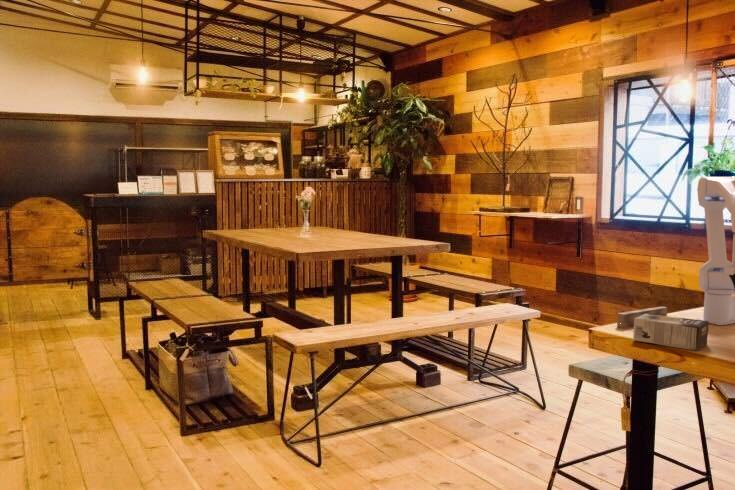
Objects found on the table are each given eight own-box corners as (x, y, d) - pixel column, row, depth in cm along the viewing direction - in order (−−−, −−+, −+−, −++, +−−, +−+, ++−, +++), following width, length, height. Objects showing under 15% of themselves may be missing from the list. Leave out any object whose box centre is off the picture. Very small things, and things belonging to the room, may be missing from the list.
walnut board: (660, 319, 204) (661, 306, 204) (666, 320, 202) (667, 307, 202) (617, 326, 194) (617, 313, 194) (622, 328, 192) (623, 314, 192)
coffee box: (645, 312, 183) (709, 320, 173) (644, 335, 184) (707, 344, 174) (633, 317, 176) (700, 326, 166) (632, 341, 177) (698, 351, 167)
